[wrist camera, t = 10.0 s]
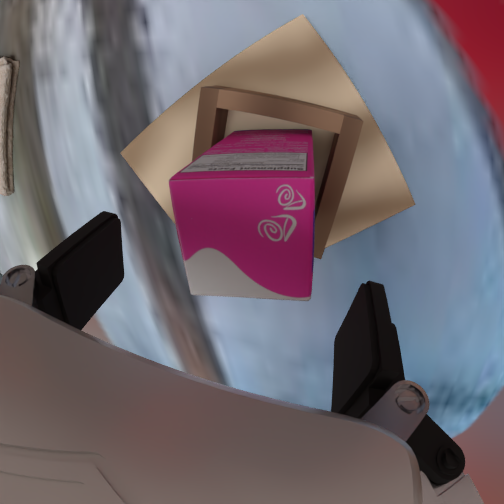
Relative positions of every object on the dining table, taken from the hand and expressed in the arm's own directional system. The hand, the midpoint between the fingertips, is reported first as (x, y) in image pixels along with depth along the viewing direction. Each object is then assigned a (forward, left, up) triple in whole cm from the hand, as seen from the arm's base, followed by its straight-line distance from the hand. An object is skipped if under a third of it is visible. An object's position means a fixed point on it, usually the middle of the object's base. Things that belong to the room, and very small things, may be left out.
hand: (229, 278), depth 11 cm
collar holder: (+1, 0, -14) cm, 14 cm away
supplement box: (0, 0, -13) cm, 13 cm away
